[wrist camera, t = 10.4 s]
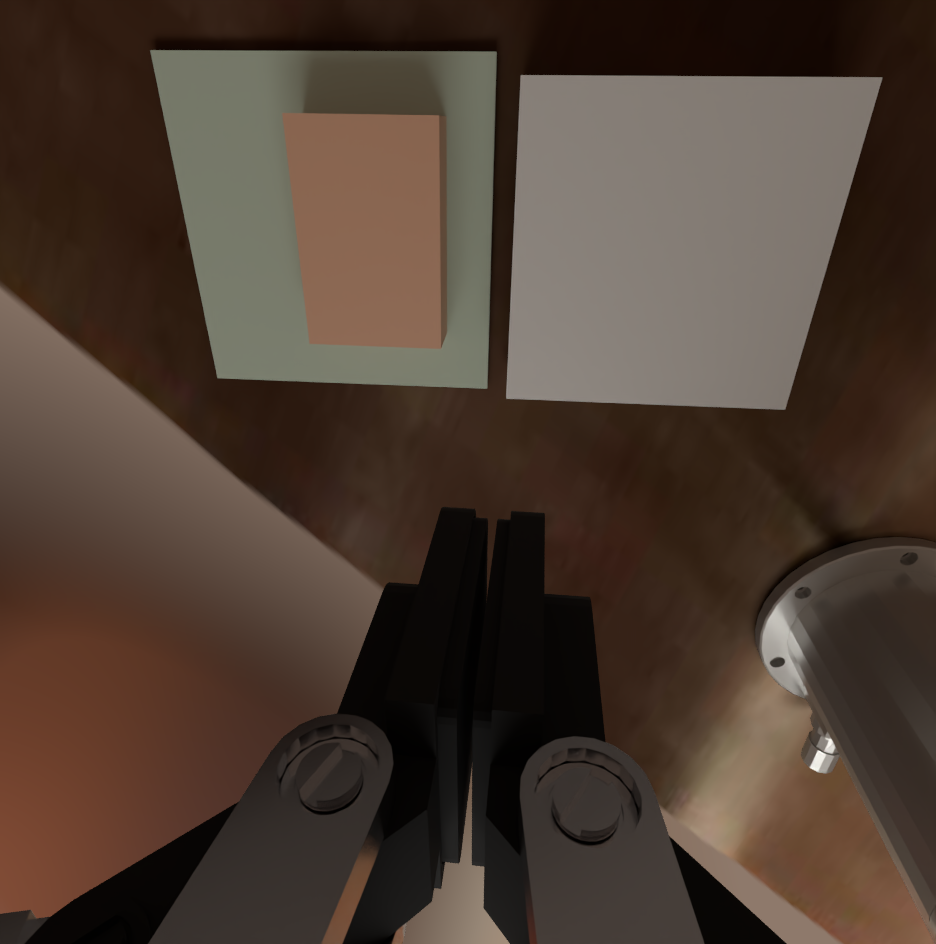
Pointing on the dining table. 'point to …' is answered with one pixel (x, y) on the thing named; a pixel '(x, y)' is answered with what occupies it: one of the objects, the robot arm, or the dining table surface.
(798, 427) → the dining table surface
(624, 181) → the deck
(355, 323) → the salmon rectangular block
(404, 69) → the mat
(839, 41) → the dining table surface
